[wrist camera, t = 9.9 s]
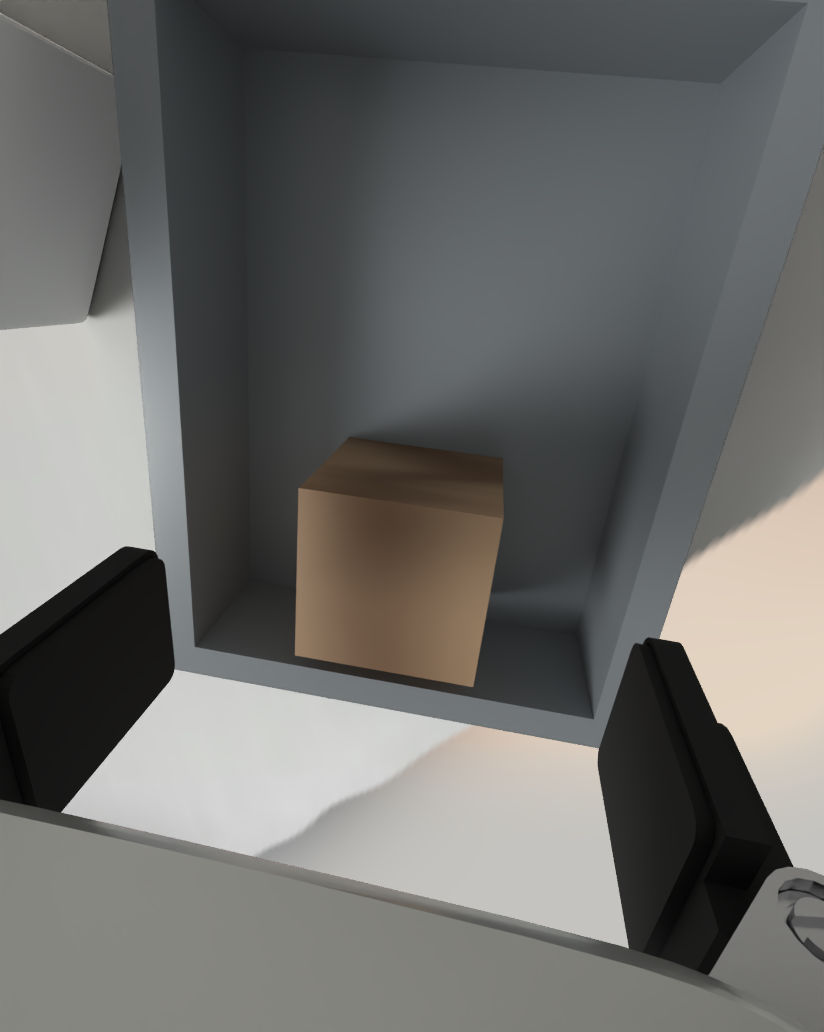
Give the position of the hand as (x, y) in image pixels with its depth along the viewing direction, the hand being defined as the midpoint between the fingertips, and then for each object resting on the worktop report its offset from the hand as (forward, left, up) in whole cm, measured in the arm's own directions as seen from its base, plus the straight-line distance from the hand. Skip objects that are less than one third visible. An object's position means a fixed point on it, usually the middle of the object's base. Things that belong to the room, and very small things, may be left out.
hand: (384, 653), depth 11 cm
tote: (0, -4, -9) cm, 10 cm away
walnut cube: (0, +1, -8) cm, 8 cm away
